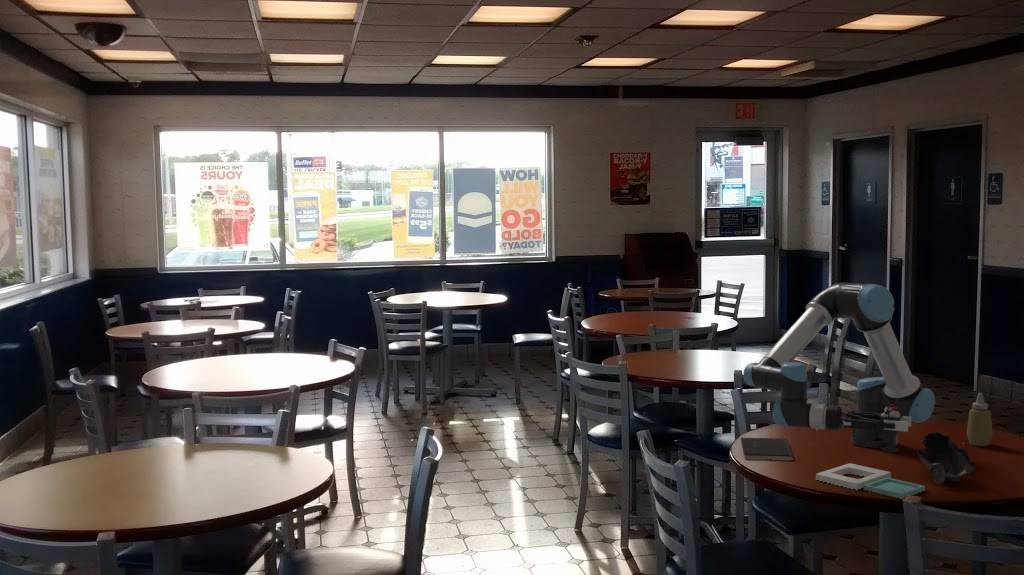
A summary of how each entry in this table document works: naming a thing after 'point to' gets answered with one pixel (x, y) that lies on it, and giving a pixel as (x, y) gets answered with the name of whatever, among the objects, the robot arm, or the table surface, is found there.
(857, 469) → the board
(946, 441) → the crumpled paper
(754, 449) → the hardcover book
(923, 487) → the tray
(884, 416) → the sundae
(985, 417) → the squeeze bottle
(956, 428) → the table surface
